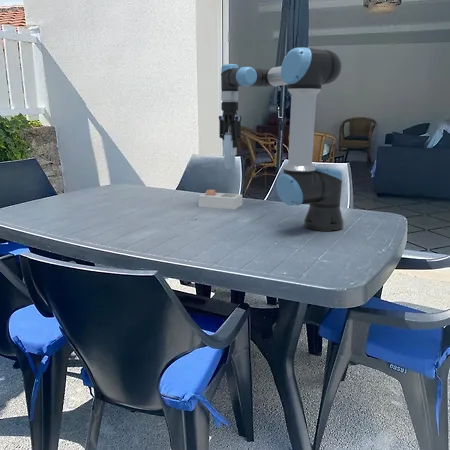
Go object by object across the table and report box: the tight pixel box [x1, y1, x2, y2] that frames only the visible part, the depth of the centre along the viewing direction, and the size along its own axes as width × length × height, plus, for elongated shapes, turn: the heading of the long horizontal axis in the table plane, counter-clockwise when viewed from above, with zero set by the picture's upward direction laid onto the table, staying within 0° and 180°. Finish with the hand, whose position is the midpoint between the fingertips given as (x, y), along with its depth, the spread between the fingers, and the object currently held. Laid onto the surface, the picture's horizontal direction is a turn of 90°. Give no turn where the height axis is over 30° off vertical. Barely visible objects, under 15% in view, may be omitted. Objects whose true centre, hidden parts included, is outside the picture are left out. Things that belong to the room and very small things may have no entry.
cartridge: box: [223, 131, 236, 170], centre depth 195 cm, size 5×5×16 cm
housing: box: [198, 192, 243, 210], centre depth 201 cm, size 10×18×6 cm, turn 67°
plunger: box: [205, 189, 216, 196], centre depth 202 cm, size 4×4×6 cm
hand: (229, 154), depth 195 cm, fingers closed on cartridge, 5 cm apart
